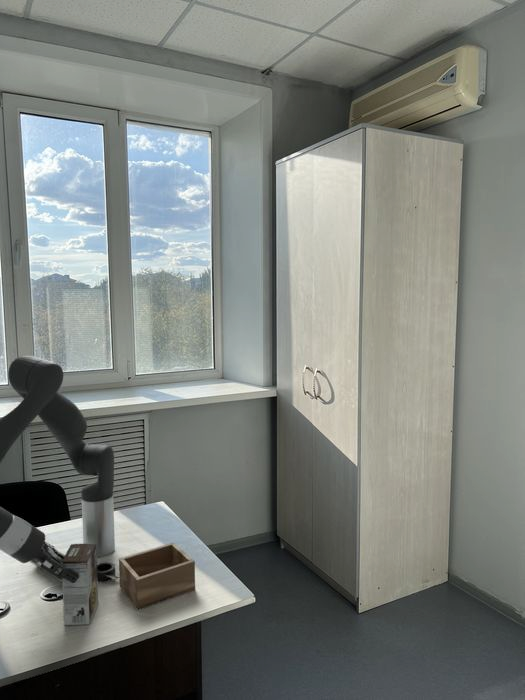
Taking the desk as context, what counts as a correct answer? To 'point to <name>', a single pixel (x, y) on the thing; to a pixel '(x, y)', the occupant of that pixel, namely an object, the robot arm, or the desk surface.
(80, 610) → the coffee box
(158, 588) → the walled box
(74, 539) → the desk surface
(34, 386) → the robot arm
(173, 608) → the desk surface
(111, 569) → the black wing nut
